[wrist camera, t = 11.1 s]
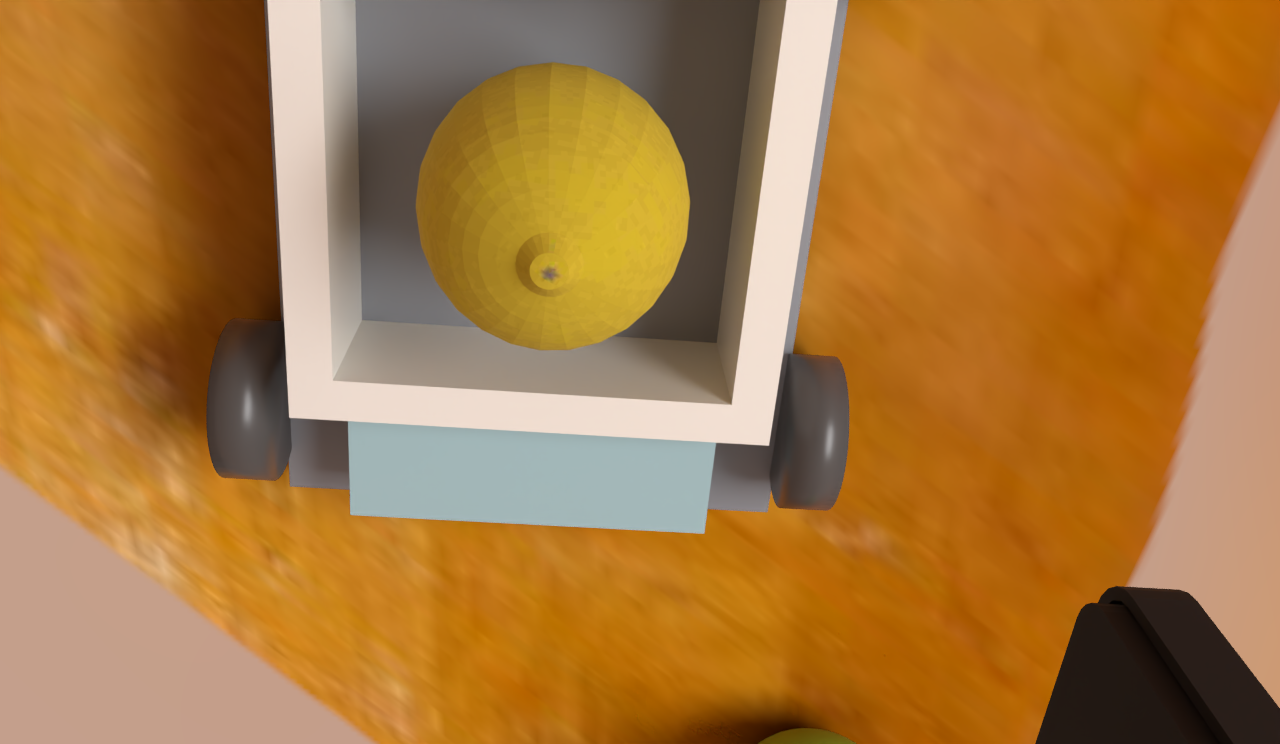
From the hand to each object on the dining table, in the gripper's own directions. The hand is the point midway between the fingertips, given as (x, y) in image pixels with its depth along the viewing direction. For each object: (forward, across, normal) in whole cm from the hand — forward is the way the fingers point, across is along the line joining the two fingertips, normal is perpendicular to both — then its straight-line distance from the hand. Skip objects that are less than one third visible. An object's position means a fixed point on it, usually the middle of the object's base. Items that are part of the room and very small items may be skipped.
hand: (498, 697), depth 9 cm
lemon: (+19, 0, +1) cm, 19 cm away
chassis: (+20, 0, +1) cm, 20 cm away
